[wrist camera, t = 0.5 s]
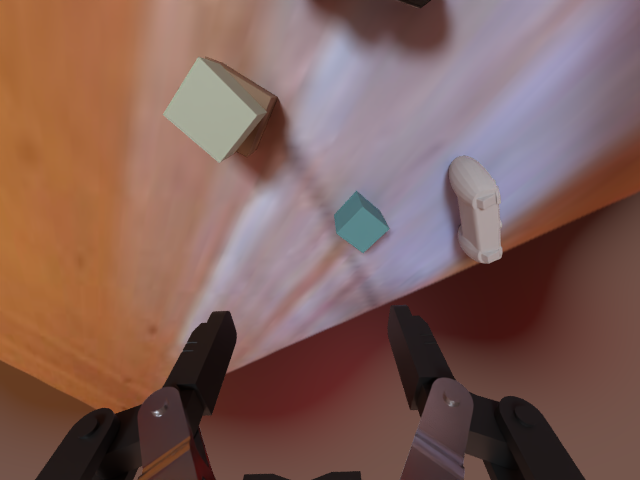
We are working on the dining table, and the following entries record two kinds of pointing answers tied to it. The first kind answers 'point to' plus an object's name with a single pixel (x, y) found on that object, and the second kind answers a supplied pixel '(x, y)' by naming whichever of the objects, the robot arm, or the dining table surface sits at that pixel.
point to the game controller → (477, 209)
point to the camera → (415, 2)
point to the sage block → (214, 109)
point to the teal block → (360, 222)
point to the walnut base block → (264, 100)
